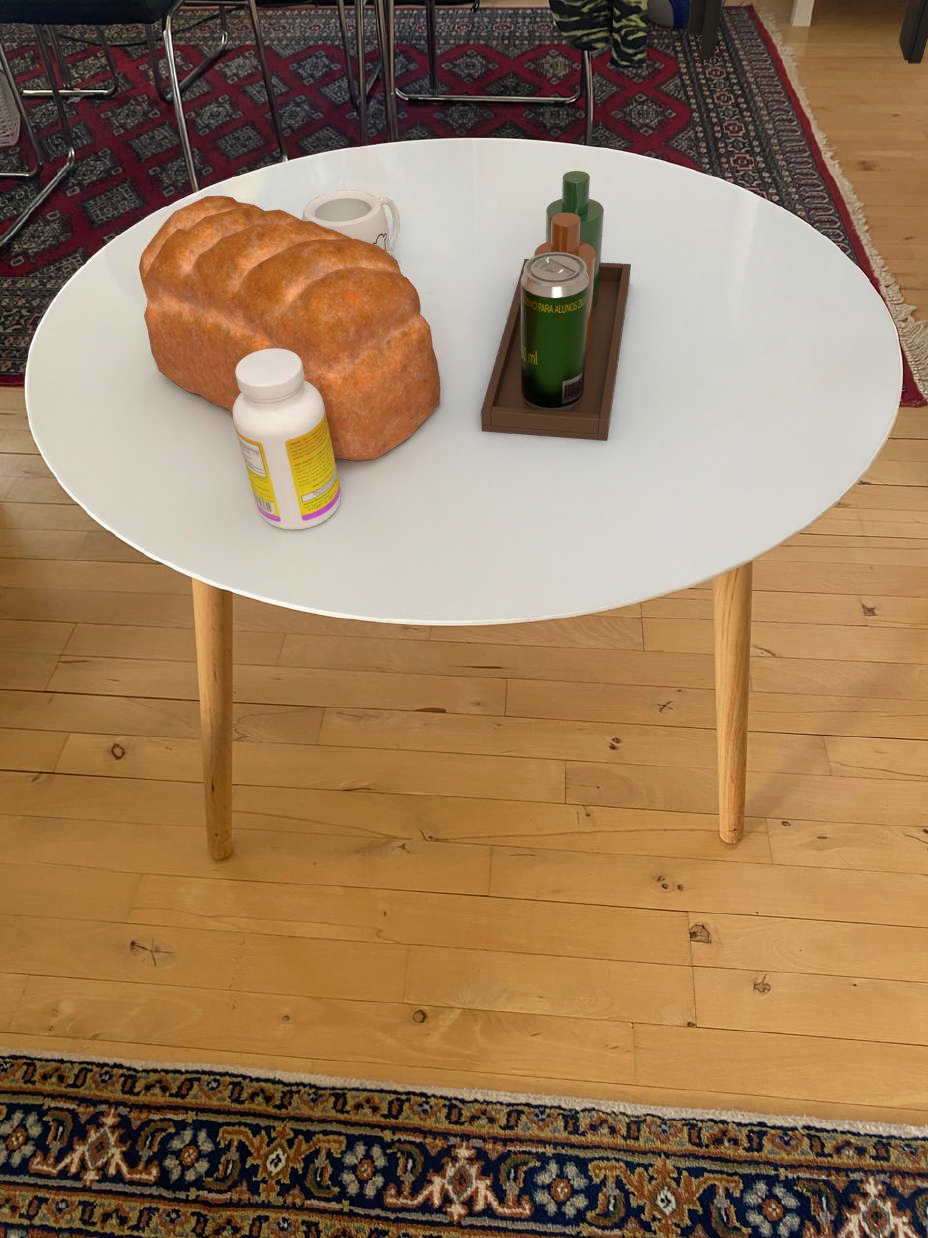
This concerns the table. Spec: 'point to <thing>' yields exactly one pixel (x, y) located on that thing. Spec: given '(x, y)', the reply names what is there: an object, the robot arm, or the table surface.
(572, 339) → the beer can
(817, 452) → the table surface
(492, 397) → the tray
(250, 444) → the supplement bottle
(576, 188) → the green bottle
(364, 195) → the mug
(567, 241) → the amber bottle
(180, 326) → the bread
